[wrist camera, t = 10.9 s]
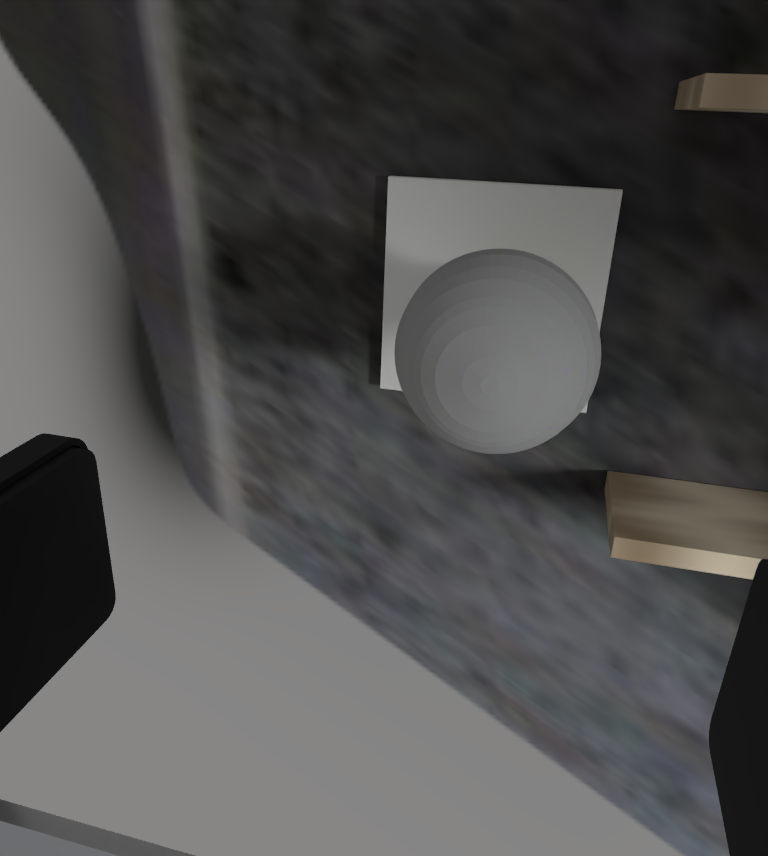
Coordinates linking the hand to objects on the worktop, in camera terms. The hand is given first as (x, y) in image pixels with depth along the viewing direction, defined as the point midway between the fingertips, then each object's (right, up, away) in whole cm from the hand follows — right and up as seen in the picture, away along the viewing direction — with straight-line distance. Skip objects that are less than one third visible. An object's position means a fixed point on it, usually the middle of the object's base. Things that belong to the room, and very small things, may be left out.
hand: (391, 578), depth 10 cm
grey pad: (+4, +7, +17) cm, 18 cm away
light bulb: (+4, +7, +16) cm, 18 cm away
